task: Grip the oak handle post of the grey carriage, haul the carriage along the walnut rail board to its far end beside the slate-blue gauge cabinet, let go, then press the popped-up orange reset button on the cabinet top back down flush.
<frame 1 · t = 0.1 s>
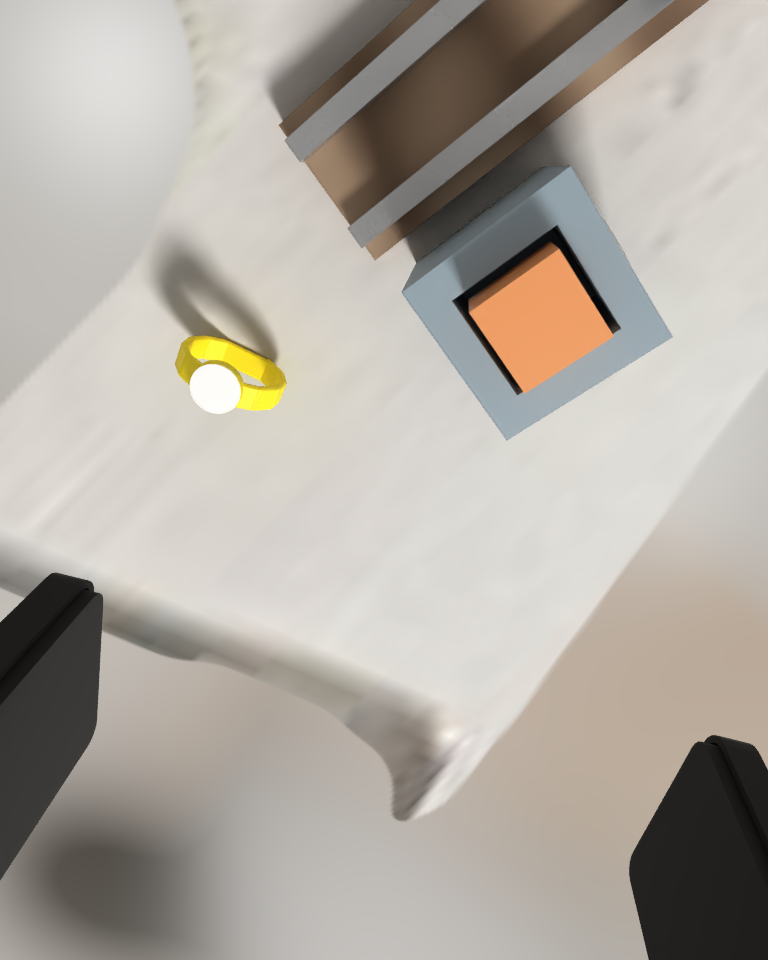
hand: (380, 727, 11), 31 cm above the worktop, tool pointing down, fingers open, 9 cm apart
rail board: (518, 38, 33), on the worktop
end cabinet: (518, 279, 37), on the worktop
watch: (246, 359, 41), on the worktop
reset button: (537, 316, 28), point 10 cm above the worktop, slide at 0.0 cm
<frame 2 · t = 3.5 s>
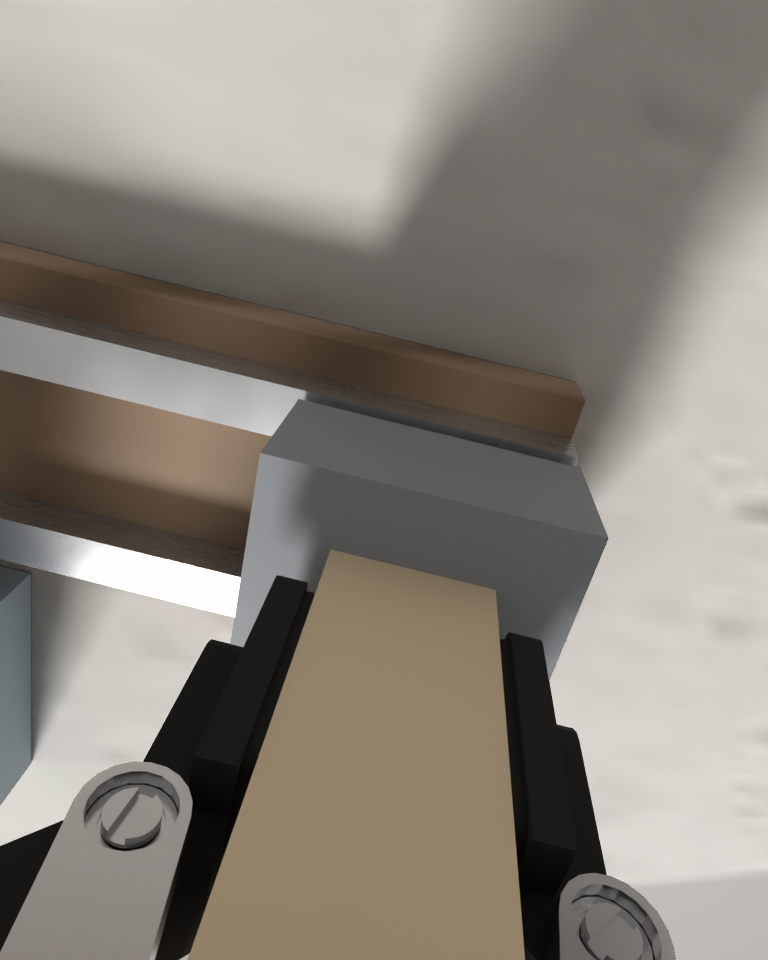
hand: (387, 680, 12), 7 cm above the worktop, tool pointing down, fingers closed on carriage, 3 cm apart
carriage: (383, 713, 11), point 8 cm above the worktop, slide at 0.0 cm, touching gripper
rail board: (103, 420, 18), on the worktop
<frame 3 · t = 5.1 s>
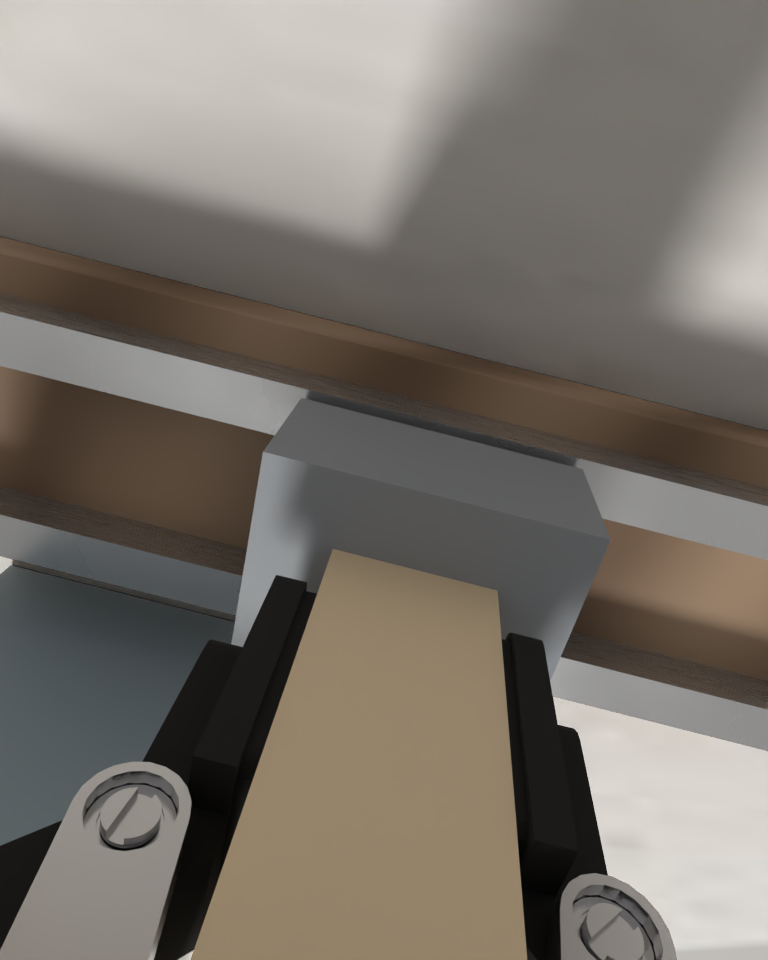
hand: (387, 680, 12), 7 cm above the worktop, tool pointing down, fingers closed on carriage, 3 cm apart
carriage: (384, 713, 11), point 8 cm above the worktop, slide at 7.4 cm, touching gripper
rail board: (375, 486, 18), on the worktop
end cabinet: (131, 697, 22), on the worktop
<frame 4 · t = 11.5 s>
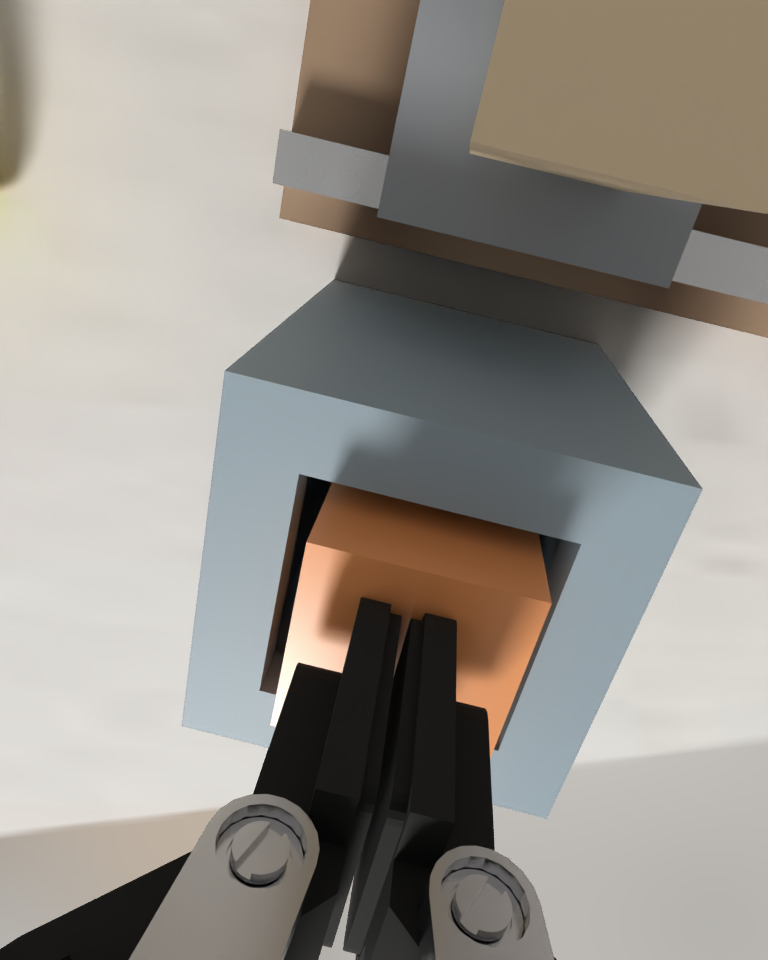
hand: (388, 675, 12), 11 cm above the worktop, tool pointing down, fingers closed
carriage: (589, 69, 11), point 8 cm above the worktop, slide at 14.0 cm
rail board: (746, 158, 18), on the worktop
end cabinet: (432, 435, 22), on the worktop
reset button: (407, 616, 13), point 10 cm above the worktop, slide at 0.7 cm, touching gripper
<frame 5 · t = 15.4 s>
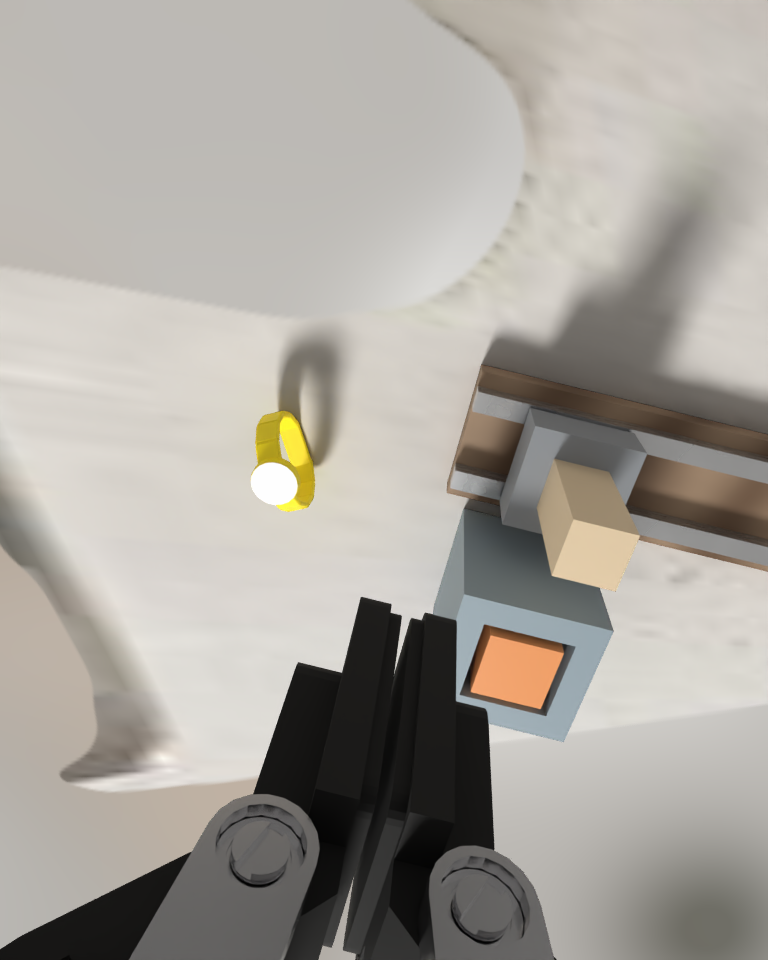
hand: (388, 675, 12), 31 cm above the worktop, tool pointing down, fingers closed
carriage: (577, 506, 35), point 8 cm above the worktop, slide at 14.0 cm
rail board: (644, 470, 42), on the worktop
end cabinet: (505, 573, 46), on the worktop
watch: (297, 444, 44), on the worktop
reset button: (514, 655, 39), point 9 cm above the worktop, slide at 1.9 cm
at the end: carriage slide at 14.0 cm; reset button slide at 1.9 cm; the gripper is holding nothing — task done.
